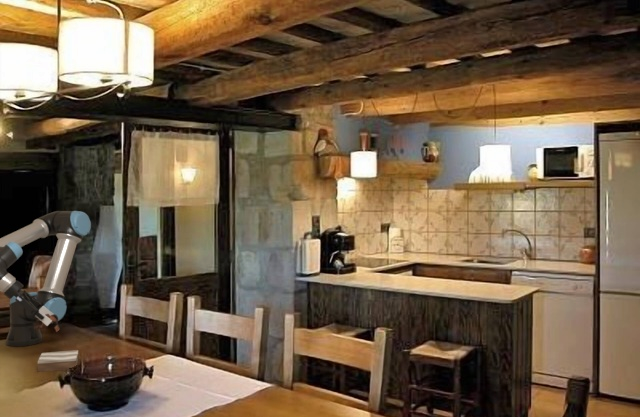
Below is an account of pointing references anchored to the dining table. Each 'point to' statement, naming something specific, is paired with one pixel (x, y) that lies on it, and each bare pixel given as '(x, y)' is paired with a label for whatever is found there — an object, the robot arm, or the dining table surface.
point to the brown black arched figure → (53, 323)
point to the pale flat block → (58, 360)
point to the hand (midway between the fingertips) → (51, 320)
